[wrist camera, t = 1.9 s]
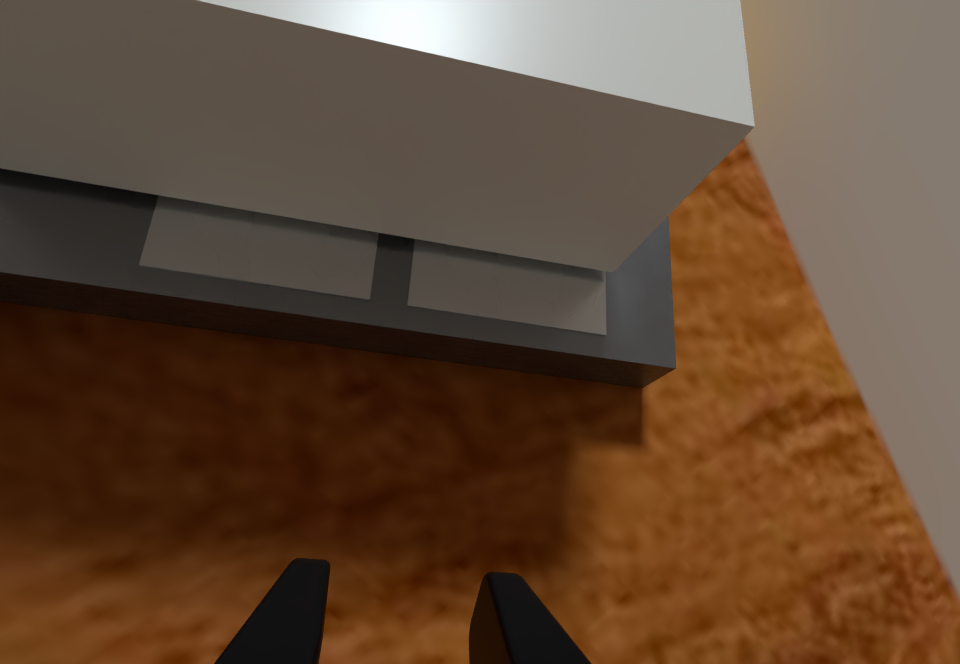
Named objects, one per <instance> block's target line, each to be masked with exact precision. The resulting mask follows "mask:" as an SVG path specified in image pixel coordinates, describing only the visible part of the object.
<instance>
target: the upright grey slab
mask: <svg viewBox="0 0 960 664" xmlns="http://www.w3.org/2000/svg"><path fill="white" fill-rule="evenodd" d="M754 127H755V125H754V116H753V107H752V99H751V90H750V82H749V73H748V64H747V56H746V48H745V38H744V29H743V20H742V12H741V3H740V0H0V168H2V169H8V170H14V171H20V172H25V173H31V174H37V175H43V176H49V177H55V178H61V179H67V180H72V181H78V182H84V183H90V184H96V185H102V186H108V187H114V188H119V189H125V190H131V191H137V192H143V193H149V194H155V195H161V196H166V197H172V198H178V199H184V200H190V201H196V202H202V203H208V204H213V205H219V206H225V207H231V208H237V209H243V210H249V211H255V212H260V213H266V214H272V215H278V216H284V217H290V218H296V219H302V220H307V221H313V222H319V223H325V224H331V225H337V226H343V227H349V228H354V229H360V230H366V231H372V232H378V233H384V234H390V235H396V236H401V237H407V238H413V239H419V240H425V241H431V242H437V243H443V244H448V245H454V246H460V247H466V248H472V249H478V250H484V251H490V252H496V253H501V254H507V255H513V256H519V257H525V258H531V259H537V260H543V261H548V262H554V263H560V264H566V265H572V266H578V267H584V268H590V269H595V270H601V271H607V272H614V271H615V270H616V269H617V268H618V267H619V266H620V265H621V264H622V263H623V262H624V261H625V260H626V259H627V258H628V257H629V256H630V255H631V254H632V252H633V251H634V250H635V249H636V248H637V247H638V246H639V245H640V244H641V243H642V242H643V241H644V240H645V239H646V238H647V237H648V236H649V235H650V234H651V233H652V232H653V231H654V230H655V229H656V228H657V227H658V226H659V225H660V224H661V223H662V222H663V221H664V220H665V219H666V217H667V216H668V215H669V214H670V213H671V212H672V211H673V210H674V209H675V208H676V207H677V206H678V205H679V204H680V203H681V202H682V201H683V200H684V199H685V198H686V197H687V196H688V195H689V194H690V193H691V192H692V191H693V190H694V189H695V188H696V187H697V186H698V185H699V183H700V182H701V181H702V180H703V179H704V178H705V177H706V176H707V175H708V174H709V173H710V172H711V171H712V170H713V169H714V168H715V167H716V166H717V165H718V164H719V163H720V162H721V161H722V160H723V159H724V158H725V157H726V156H727V155H728V154H729V153H730V152H731V151H732V150H733V148H734V147H735V146H736V145H737V144H738V143H739V142H740V141H741V140H742V139H743V138H744V137H745V136H746V135H747V134H748V133H749V132H750V131H751V130H752V129H753V128H754Z"/></svg>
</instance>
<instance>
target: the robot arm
mask: <svg viewBox="0 0 960 664" xmlns="http://www.w3.org/2000/svg"><path fill="white" fill-rule="evenodd" d="M329 575H330V564H329V562H328V561H327V560H319V559H304V558H297V559H295V560H293V561H292V562H291V563H290V564H289V565H288V566H287V568H286V569H285V570H284V572H283V573H282V574H281V576H280V577H279V578H278V580H277V581H276V582H275V584H274V585H273V586H272V588H271V589H270V590H269V592H268V593H267V594H266V596H265V597H264V598H263V600H262V601H261V602H260V603H259V605H258V606H257V607H256V609H255V610H254V611H253V613H252V614H251V615H250V617H249V618H248V619H247V621H246V622H245V623H244V625H243V626H242V627H241V629H240V630H239V631H238V633H237V634H236V635H235V637H234V638H233V639H232V641H231V642H230V643H229V644H228V646H227V647H226V648H225V650H224V651H223V652H222V654H221V655H220V656H219V658H218V659H217V660H216V662H215V663H214V664H319V658H320V652H321V645H322V639H323V630H324V621H325V612H326V602H327V593H328V584H329ZM469 661H470V664H591V662H590V661H589V660H588V659H587V657H586V656H585V655H584V654H583V652H582V651H581V650H580V649H579V647H578V646H577V645H576V644H575V643H574V641H573V640H572V639H571V638H570V636H569V635H568V634H567V633H566V631H565V630H564V629H563V628H562V626H561V625H560V624H559V623H558V621H557V620H556V619H555V618H554V616H553V615H552V614H551V613H550V611H549V610H548V609H547V608H546V606H545V605H544V604H543V603H542V601H541V600H540V599H539V598H538V596H537V595H536V594H535V593H534V591H533V590H532V589H531V588H530V587H529V585H528V584H527V583H526V582H525V580H524V579H523V578H522V577H521V576H519V575H518V574H515V573H502V572H489V573H487V574H485V576H484V578H483V580H482V583H481V586H480V590H479V594H478V597H477V601H476V605H475V608H474V612H473V616H472V619H471V624H470V631H469Z"/></svg>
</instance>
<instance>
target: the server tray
mask: <svg viewBox="0 0 960 664" xmlns="http://www.w3.org/2000/svg"><path fill="white" fill-rule="evenodd" d="M0 301H3V302H10V303H18V304H25V305H32V306H40V307H47V308H55V309H62V310H70V311H77V312H84V313H92V314H99V315H107V316H114V317H121V318H129V319H136V320H144V321H151V322H158V323H166V324H173V325H181V326H188V327H196V328H203V329H210V330H218V331H225V332H233V333H240V334H247V335H255V336H262V337H270V338H277V339H284V340H292V341H299V342H307V343H314V344H322V345H329V346H336V347H344V348H351V349H359V350H366V351H373V352H381V353H388V354H396V355H403V356H411V357H418V358H425V359H433V360H440V361H448V362H455V363H462V364H470V365H477V366H485V367H492V368H499V369H507V370H514V371H522V372H529V373H537V374H544V375H551V376H559V377H566V378H574V379H581V380H588V381H596V382H603V383H611V384H618V385H625V386H633V387H640V388H643V387H645V386H647V385H648V384H650V383H652V382H654V381H655V380H657V379H659V378H660V377H662V376H664V375H666V374H667V373H669V372H671V371H672V370H674V369H676V358H675V339H674V320H673V300H672V281H671V261H670V242H669V223H668V216H667V217H666V219H665V220H664V221H663V222H662V223H661V224H660V225H659V226H658V227H657V228H656V229H655V230H654V231H653V232H652V233H651V234H650V235H649V236H648V237H647V238H646V239H645V240H644V241H643V242H642V243H641V244H640V245H639V246H638V247H637V248H636V249H635V250H634V251H633V252H632V254H631V255H630V256H629V257H628V258H627V259H626V260H625V261H624V262H623V263H622V264H621V265H620V266H619V267H618V268H617V269H616V270H615V271H614V272H607V271H601V270H595V269H590V268H584V267H578V266H572V265H566V264H560V263H554V262H548V261H543V260H537V259H531V258H525V257H519V256H513V255H507V254H501V253H496V252H490V251H484V250H478V249H472V248H466V247H460V246H454V245H448V244H443V243H437V242H431V241H425V240H419V239H413V238H407V237H401V236H396V235H390V234H384V233H378V232H372V231H366V230H360V229H354V228H349V227H343V226H337V225H331V224H325V223H319V222H313V221H307V220H302V219H296V218H290V217H284V216H278V215H272V214H266V213H260V212H255V211H249V210H243V209H237V208H231V207H225V206H219V205H213V204H208V203H202V202H196V201H190V200H184V199H178V198H172V197H166V196H161V195H155V194H149V193H143V192H137V191H131V190H125V189H119V188H114V187H108V186H102V185H96V184H90V183H84V182H78V181H72V180H67V179H61V178H55V177H49V176H43V175H37V174H31V173H25V172H20V171H14V170H8V169H2V168H0Z"/></svg>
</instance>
